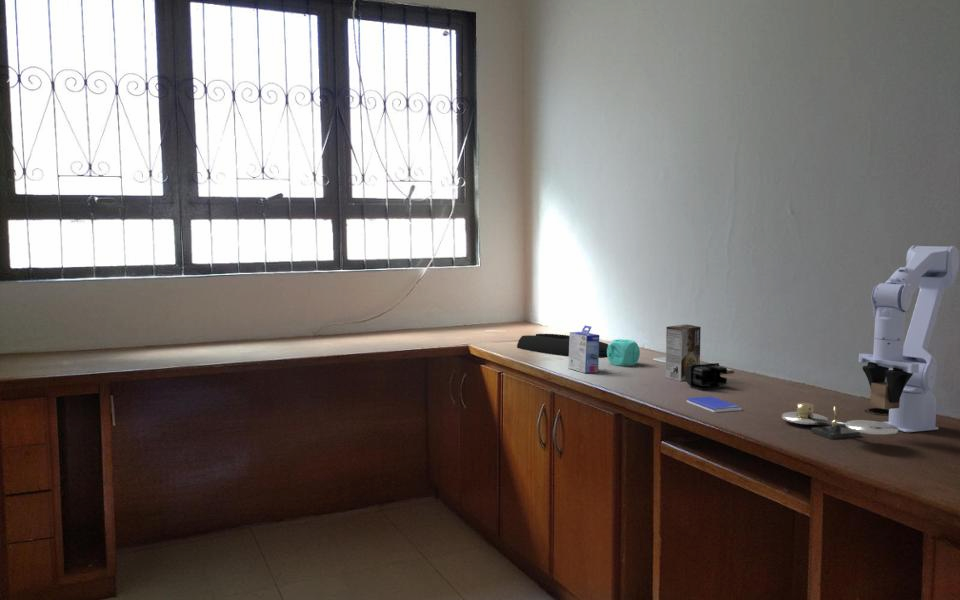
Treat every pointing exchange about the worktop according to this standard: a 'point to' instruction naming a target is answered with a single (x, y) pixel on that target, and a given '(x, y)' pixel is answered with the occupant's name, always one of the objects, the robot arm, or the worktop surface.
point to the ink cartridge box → (584, 351)
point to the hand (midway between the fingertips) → (885, 400)
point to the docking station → (552, 344)
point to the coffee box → (681, 350)
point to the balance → (837, 424)
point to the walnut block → (881, 396)
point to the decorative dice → (623, 352)
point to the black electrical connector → (705, 376)
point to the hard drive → (713, 404)
